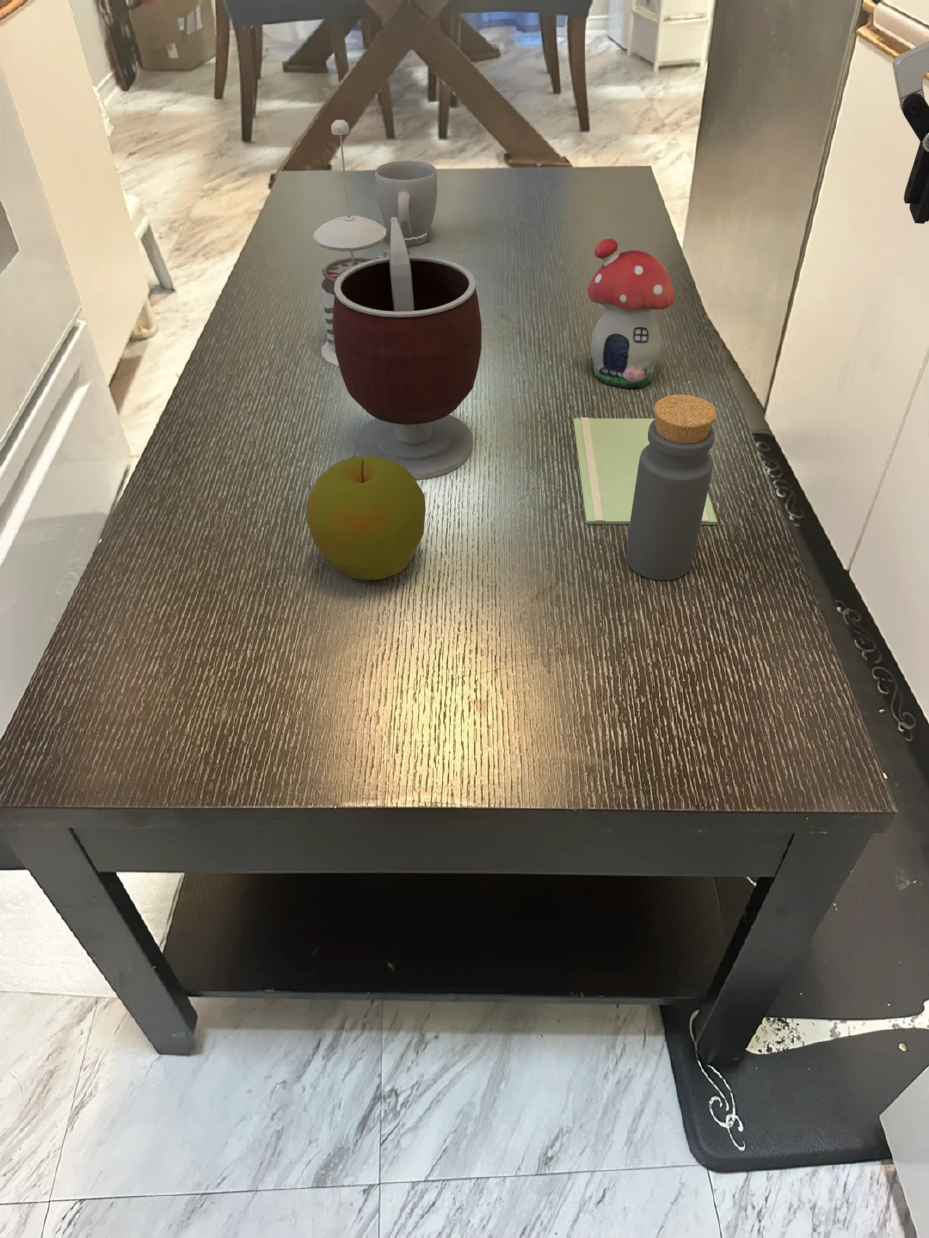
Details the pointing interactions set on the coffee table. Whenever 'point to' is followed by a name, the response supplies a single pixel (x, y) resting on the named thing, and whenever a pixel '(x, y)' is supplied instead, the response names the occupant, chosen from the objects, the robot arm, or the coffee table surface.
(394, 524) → the apple
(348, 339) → the mate gourd
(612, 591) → the coffee table surface
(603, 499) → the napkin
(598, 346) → the decorative ornament
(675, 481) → the bottle
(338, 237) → the french press
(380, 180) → the mug
